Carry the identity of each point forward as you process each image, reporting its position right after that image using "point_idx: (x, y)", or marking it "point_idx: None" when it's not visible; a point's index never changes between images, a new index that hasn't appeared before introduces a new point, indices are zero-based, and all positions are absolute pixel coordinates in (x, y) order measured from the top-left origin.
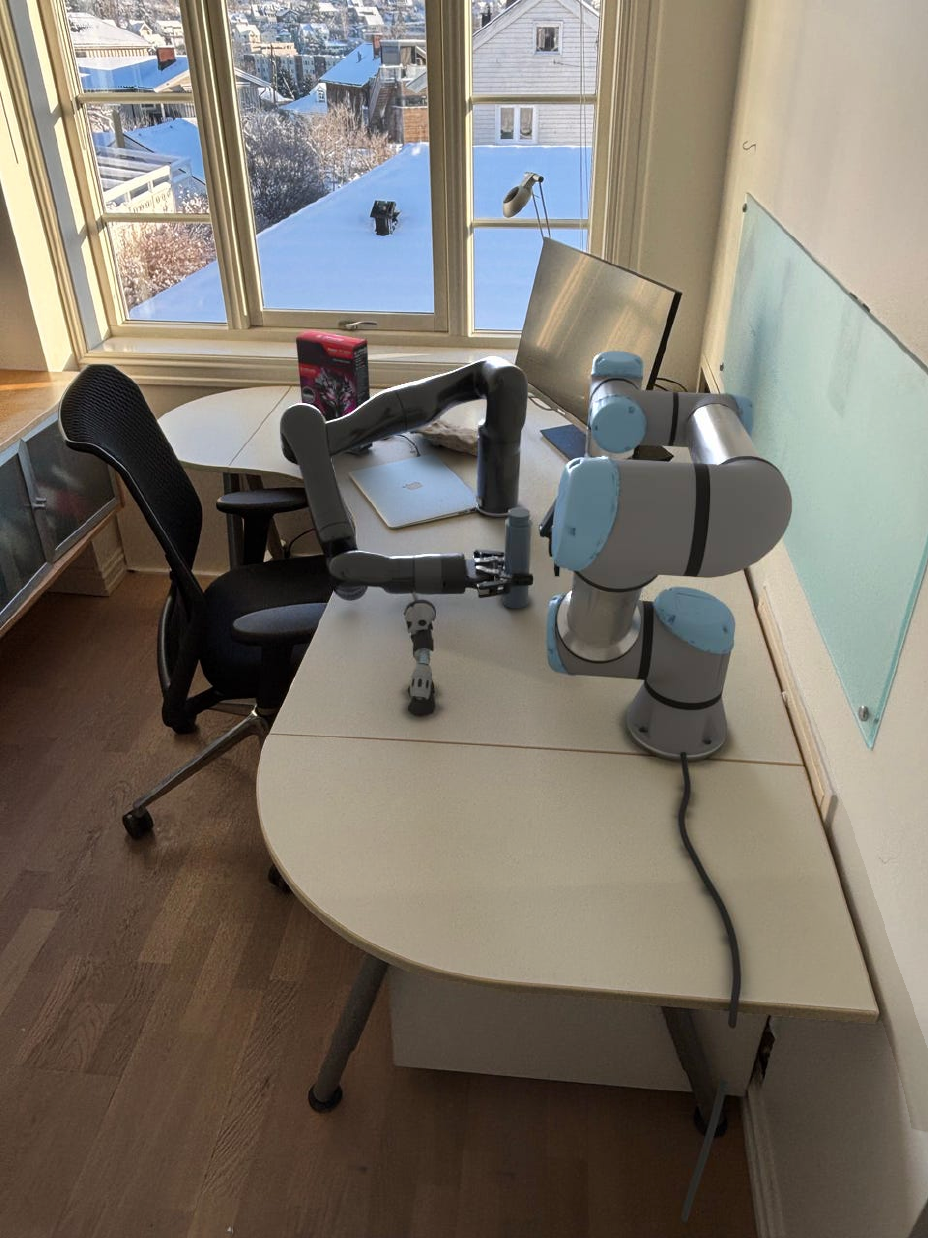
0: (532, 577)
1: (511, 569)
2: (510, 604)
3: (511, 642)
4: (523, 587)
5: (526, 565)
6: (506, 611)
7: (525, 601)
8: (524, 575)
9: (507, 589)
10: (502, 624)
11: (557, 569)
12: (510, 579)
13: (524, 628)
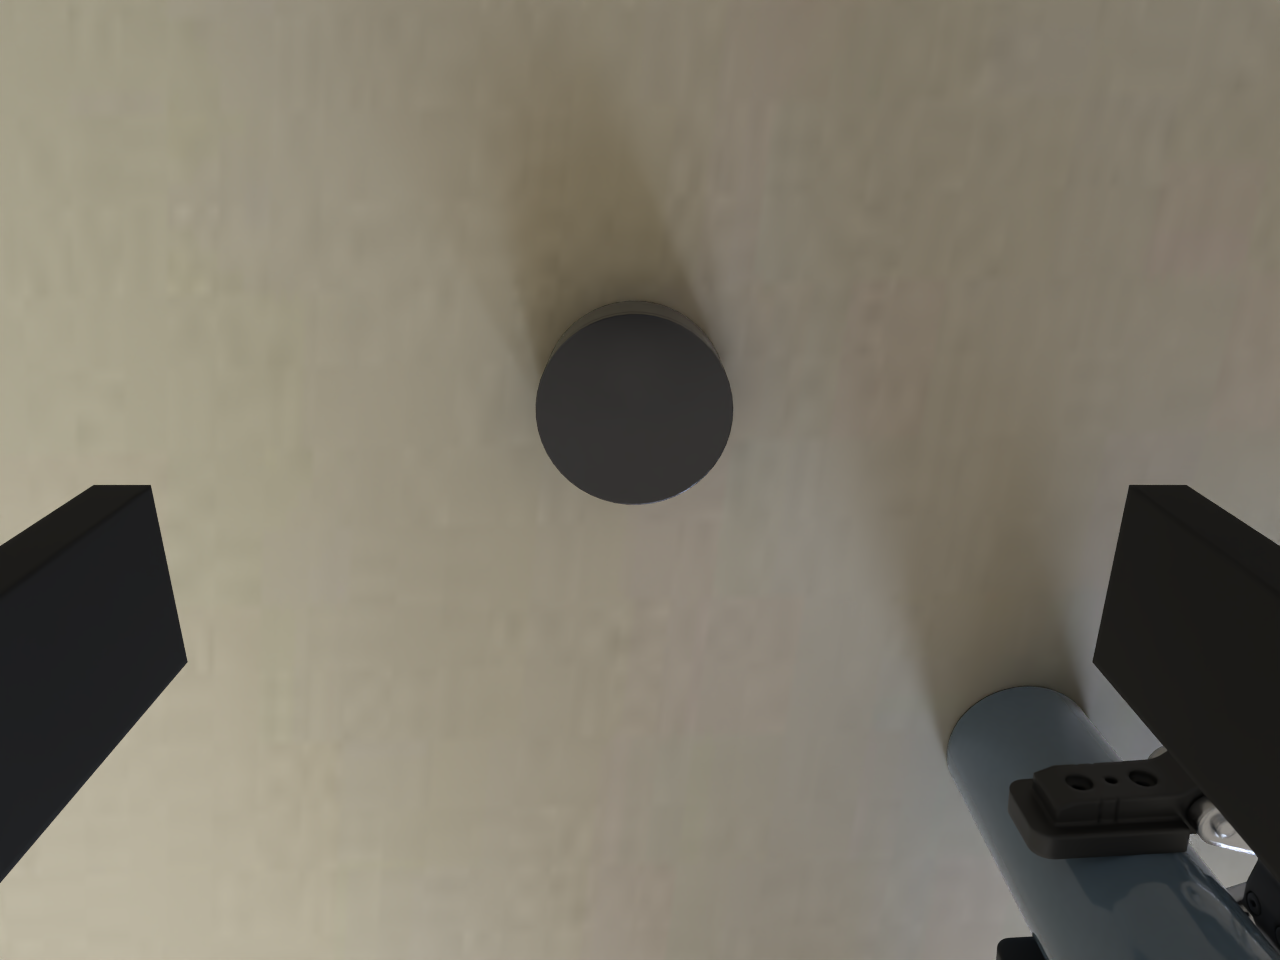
0: (1036, 823)
1: (1211, 883)
2: (1067, 704)
3: (1121, 355)
4: None
5: (1108, 918)
6: (1085, 659)
7: (979, 727)
8: (1105, 833)
9: None
10: None
11: (1218, 526)
12: None
13: (1013, 499)
